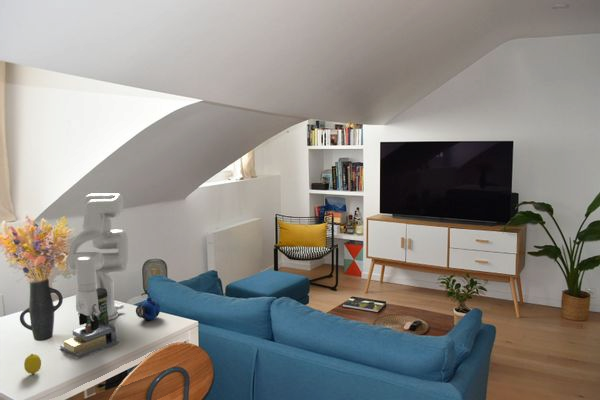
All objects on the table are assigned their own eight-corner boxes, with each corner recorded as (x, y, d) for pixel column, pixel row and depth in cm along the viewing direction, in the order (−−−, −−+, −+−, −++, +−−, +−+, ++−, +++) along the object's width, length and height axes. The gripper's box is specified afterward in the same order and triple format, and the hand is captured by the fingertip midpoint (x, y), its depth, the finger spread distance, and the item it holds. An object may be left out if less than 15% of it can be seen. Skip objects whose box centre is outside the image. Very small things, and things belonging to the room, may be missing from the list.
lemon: (37, 369, 189) (36, 349, 188) (44, 373, 185) (43, 353, 184) (22, 374, 185) (20, 354, 183) (28, 379, 181) (27, 358, 180)
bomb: (132, 320, 237) (131, 290, 234) (151, 314, 245) (150, 284, 243) (145, 325, 231) (144, 294, 229) (164, 318, 240) (163, 288, 238)
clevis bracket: (100, 334, 220) (99, 319, 219) (118, 343, 212) (118, 327, 211) (60, 348, 206) (59, 332, 205) (78, 358, 198) (77, 341, 197)
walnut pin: (91, 343, 211) (90, 323, 210) (95, 345, 209) (94, 325, 208) (84, 346, 209) (83, 325, 208) (88, 348, 207) (87, 327, 206)
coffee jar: (96, 334, 221) (94, 294, 218) (83, 331, 224) (80, 291, 221) (112, 326, 230) (110, 287, 227) (99, 323, 233) (97, 285, 230)
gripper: (67, 284, 208) (69, 324, 210) (89, 293, 197) (92, 334, 200) (84, 280, 214) (86, 319, 216) (106, 288, 203) (108, 329, 206)
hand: (89, 326), depth 208 cm, fingers open, 8 cm apart
